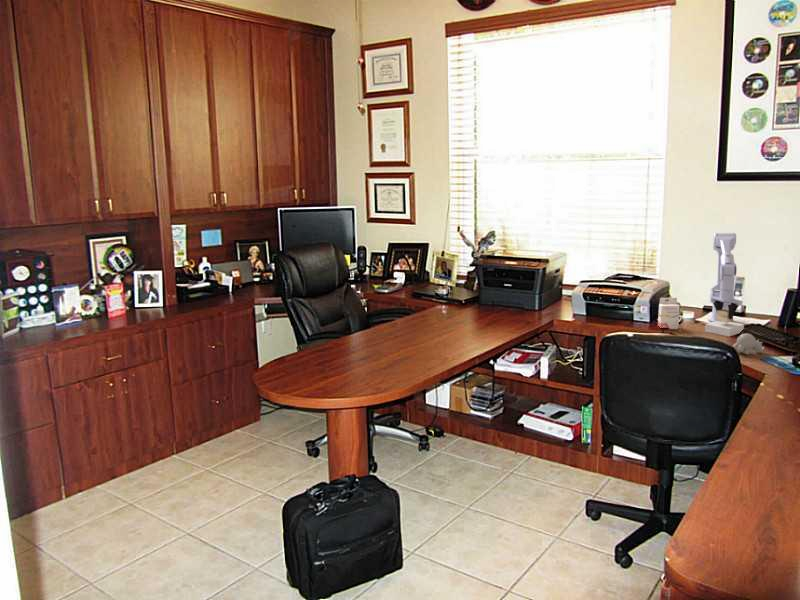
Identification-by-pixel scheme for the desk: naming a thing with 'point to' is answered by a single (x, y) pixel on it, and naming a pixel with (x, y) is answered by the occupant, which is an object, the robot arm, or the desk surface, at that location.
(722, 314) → the beech block
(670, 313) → the ink cartridge box
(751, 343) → the round bodied animal figurine
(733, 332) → the grey box
